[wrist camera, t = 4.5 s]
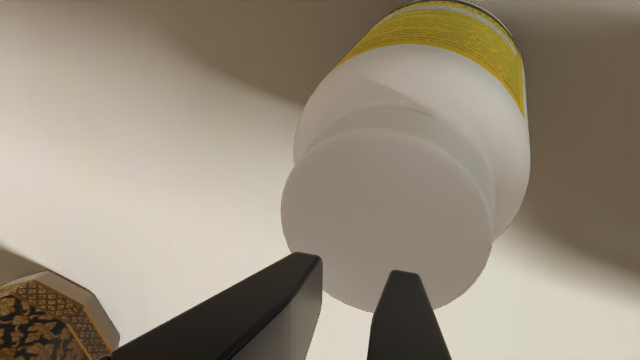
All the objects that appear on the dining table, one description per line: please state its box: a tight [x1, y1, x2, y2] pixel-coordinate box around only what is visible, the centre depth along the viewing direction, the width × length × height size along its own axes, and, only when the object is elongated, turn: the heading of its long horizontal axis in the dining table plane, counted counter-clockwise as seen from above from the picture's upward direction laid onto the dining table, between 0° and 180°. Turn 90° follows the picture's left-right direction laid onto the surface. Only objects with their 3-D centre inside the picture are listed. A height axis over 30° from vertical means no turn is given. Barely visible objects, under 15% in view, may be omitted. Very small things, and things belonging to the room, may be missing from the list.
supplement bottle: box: [281, 0, 531, 313], centre depth 15 cm, size 5×5×10 cm
